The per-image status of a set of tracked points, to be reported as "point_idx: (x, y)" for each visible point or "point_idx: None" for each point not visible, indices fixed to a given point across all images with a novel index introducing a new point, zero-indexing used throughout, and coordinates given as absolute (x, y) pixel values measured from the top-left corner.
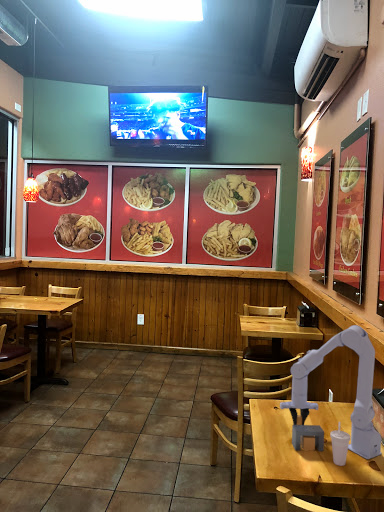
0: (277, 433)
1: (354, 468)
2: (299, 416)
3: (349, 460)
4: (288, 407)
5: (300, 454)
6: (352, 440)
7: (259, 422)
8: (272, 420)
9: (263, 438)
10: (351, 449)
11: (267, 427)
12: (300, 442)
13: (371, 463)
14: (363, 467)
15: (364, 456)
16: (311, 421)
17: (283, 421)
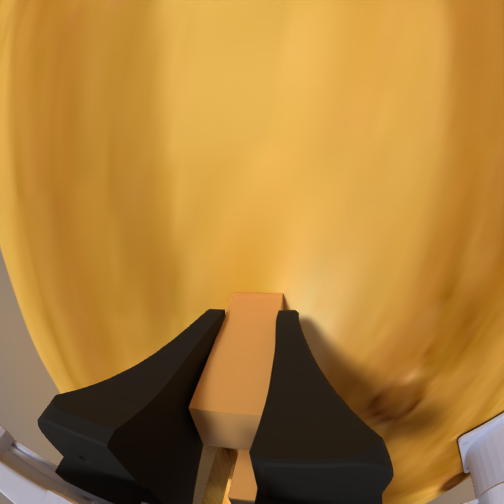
0: (109, 336)
1: (389, 500)
2: (238, 437)
3: (405, 484)
4: (62, 487)
5: (229, 475)
6: (476, 478)
7: (4, 187)
8: (59, 124)
9: (65, 371)
10: (461, 453)
11: (45, 257)
12: (223, 495)
13: (459, 476)
14: (419, 493)
15: (464, 470)
16: (453, 88)
17: (140, 116)
